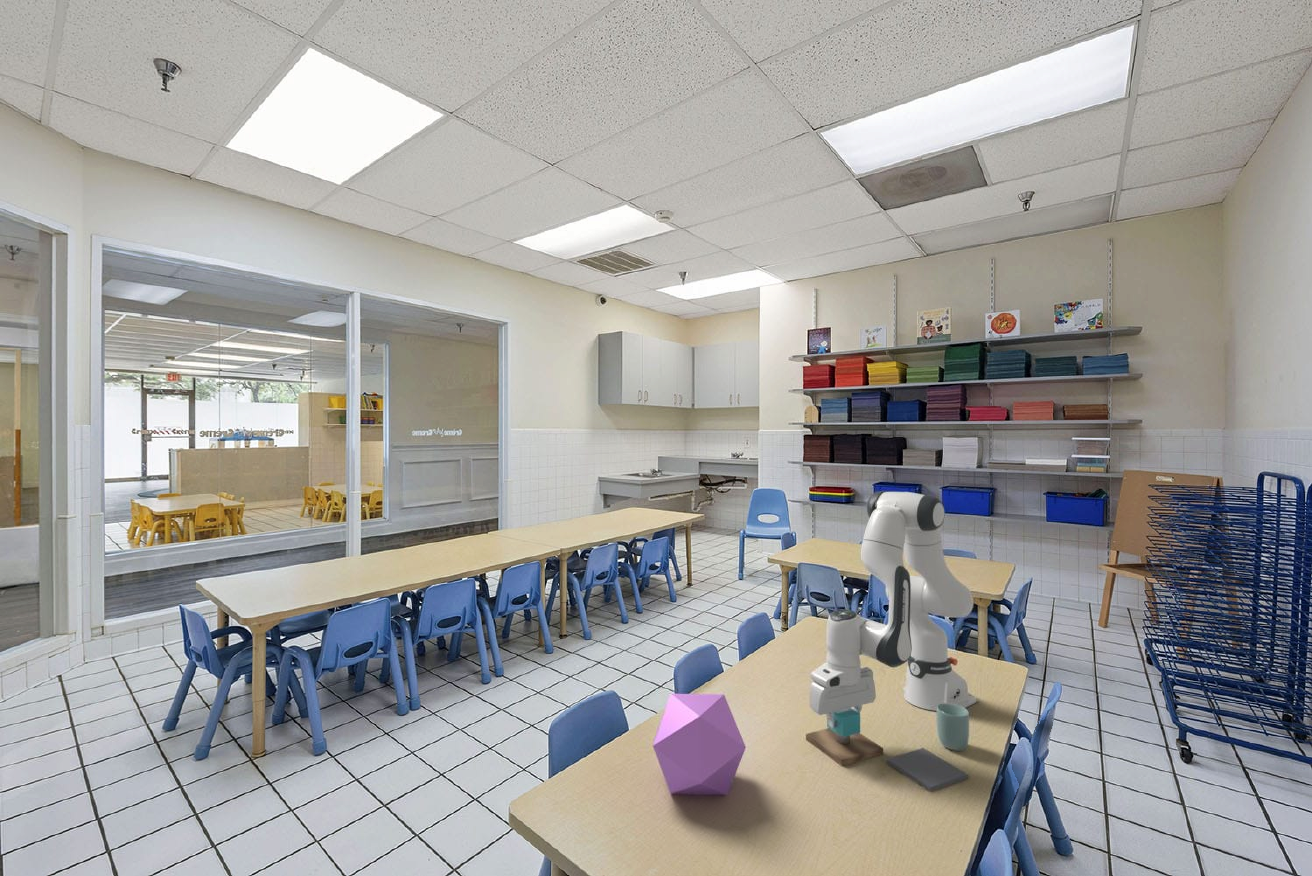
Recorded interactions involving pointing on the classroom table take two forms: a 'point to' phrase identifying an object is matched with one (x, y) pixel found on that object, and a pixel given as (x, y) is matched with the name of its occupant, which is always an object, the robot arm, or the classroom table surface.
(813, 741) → the post base
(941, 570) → the robot arm
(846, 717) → the teal cube
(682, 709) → the icosahedron
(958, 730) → the cup
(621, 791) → the classroom table surface
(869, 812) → the classroom table surface
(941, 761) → the mat
